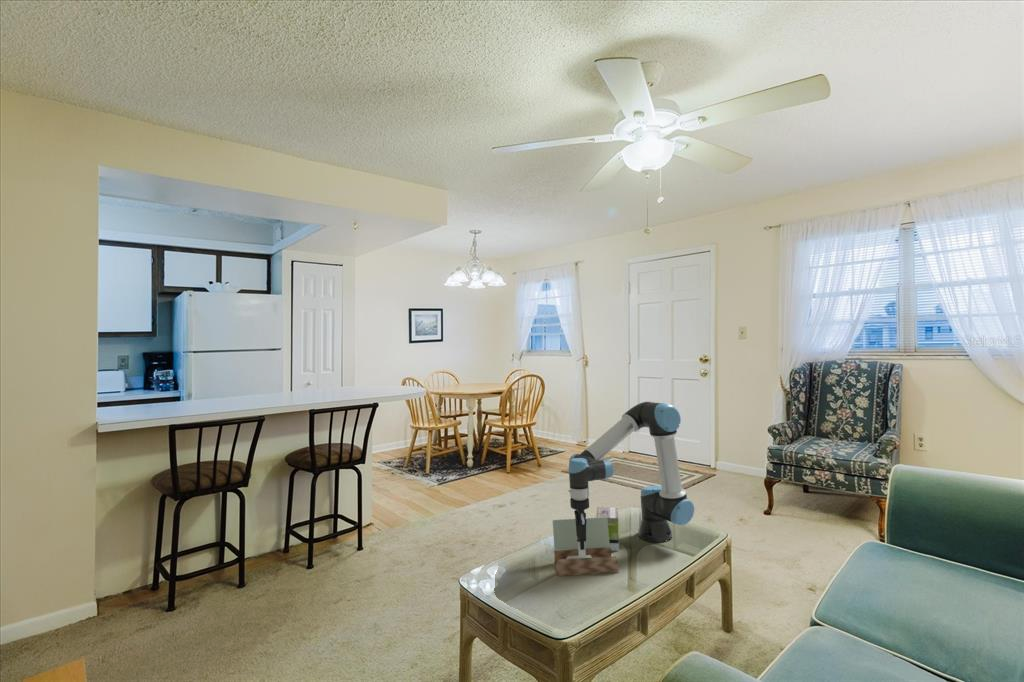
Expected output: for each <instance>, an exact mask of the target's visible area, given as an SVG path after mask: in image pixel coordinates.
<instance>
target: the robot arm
mask: <svg viewBox="0 0 1024 682" xmlns="http://www.w3.org/2000/svg"><path fill="white" fill-rule="evenodd" d="M680 424H681V414H680V412H679V410H678V409H677V408H676V407H675V406H674V405H672V404H669V403H667V402H654V401H653V402H652V401H643V402H640V403H637V404H636V405H635V406H633V407H631V408H629V409H628V410H627V411H626V412H624V413H623V414H622V415H621V418H620V419H619V420H618V421H617V422H616V423H615V424H614V425H613V426H612V427H610V428H609V429H608V430H607V431H605V432H604V433H603V434H602V435H601V436H600V437H598V438H597V439H596V440H595V441H594V442H593V443H592V444H590V445H589V446H587V448H585V449H584V450H583V451H582V452H581V453H574V454H572V455H571V456H570V458H569V460H568V477H569V479H568V481H569V489H568V493H569V497H570V499H569V500H570V503H569V505H570V507H571V509H573V510H574V519H575V521H576V533H577V534H576V535H577V538H578V539H577V542H578V556H579V557H586V551H585V549H586V548H585V541H586V523H587V520H586V519H585V518H587V513H586V512H585V510H588V509H589V508H590V493H589V492H590V489H589V482H593V481H594V482H595V481H599V480H606V479H608V478H612V476H613V475H614V472H615V470H614V465H613V463H612V461H611V460H609V459H603V458H604V457H605V456H606V455H608V454H609V453H610V452H611V451H612V450H613V449H614V448H616V447H617V446H618V445H619V444H621V442H623V441H624V440H625V439H626V438H627V437H629V436H630V435H631V434H632V433H633V432H638V431H639V430H640V429H642V428H648V430H649V435H650V436H651V437H652V438H653V439H654V440H653V441H654V446H655V447H654V448H655V452H656V453H655V454H656V461H657V464H658V472H659V473H658V474H659V478H660V479H659V480H660V484H661V485H649V486H644V487H642V488H641V490H640V506H641V507H640V509H641V521H640V525H639V528H638V537H639V538H640V539H642V540H645V541H646V542H652V543H663V541H665V542H667V541H666V540H669V539H671V537H672V538H673V532H672V528H671V527H670V523H672V524H674V525H677V526H685V525H687V524H689V523H690V522H691V520H692V518H693V517H694V514H695V505H694V502H693V501H691V500H690V499H688V496H687V491H686V490H685V489H684V488H683V487H682V480H681V479H682V478H681V473H680V466H679V461H678V454H677V446H676V439H675V436H676V435H677V433H678V429H679V428H680ZM669 522H670V523H669ZM671 540H672V539H671ZM669 541H670V540H669Z"/></svg>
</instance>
